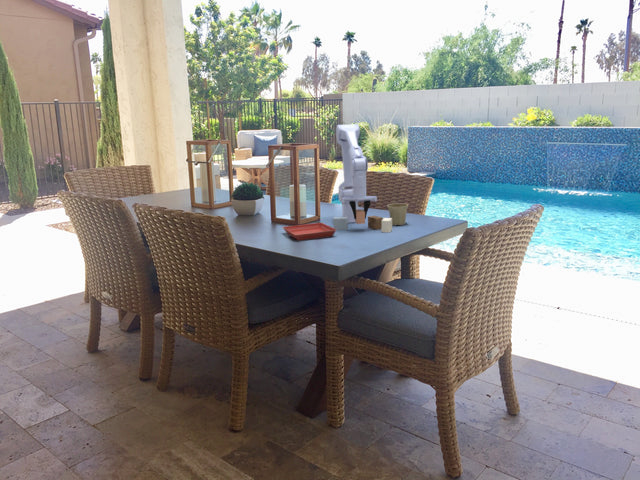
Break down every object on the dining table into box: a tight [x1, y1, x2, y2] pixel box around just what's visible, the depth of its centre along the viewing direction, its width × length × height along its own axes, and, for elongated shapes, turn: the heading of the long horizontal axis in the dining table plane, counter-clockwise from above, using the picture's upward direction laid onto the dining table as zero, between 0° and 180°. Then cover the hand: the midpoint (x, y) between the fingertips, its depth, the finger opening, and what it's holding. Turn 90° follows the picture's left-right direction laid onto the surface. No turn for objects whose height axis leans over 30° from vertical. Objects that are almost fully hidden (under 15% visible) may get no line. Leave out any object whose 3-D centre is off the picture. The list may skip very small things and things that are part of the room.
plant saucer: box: [282, 222, 337, 241], centre depth 220 cm, size 18×18×3 cm
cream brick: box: [381, 217, 393, 233], centre depth 223 cm, size 6×4×5 cm, turn 163°
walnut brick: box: [367, 215, 384, 231], centre depth 228 cm, size 6×4×5 cm, turn 33°
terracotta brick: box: [354, 208, 366, 225], centre depth 224 cm, size 6×4×5 cm, turn 3°
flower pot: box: [386, 202, 409, 226], centre depth 234 cm, size 9×9×9 cm
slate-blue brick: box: [332, 216, 349, 231], centre depth 229 cm, size 6×4×5 cm, turn 83°
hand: (359, 218), depth 224 cm, fingers closed on terracotta brick, 3 cm apart
